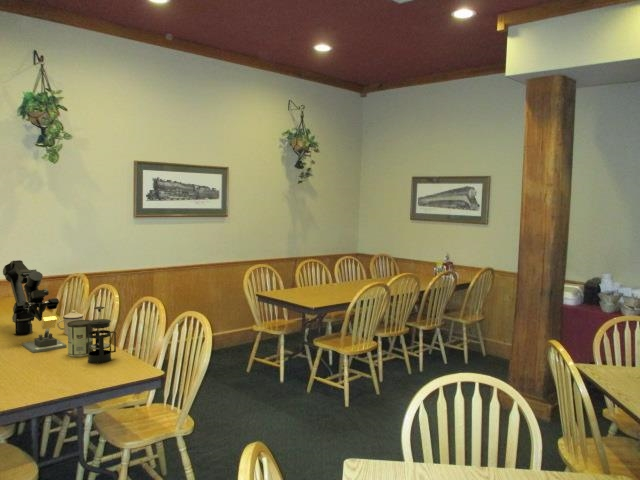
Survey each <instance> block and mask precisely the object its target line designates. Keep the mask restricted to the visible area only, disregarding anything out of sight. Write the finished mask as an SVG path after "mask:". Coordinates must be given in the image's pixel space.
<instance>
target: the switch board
mask: <svg viewBox="0 0 640 480" xmlns="http://www.w3.org/2000/svg"><path fill="white" fill-rule="evenodd" d="M21 346H22V347H23V348H25V349H27V350H28V351H29V352H31V353H33V354H35V353H43V352H47V351H52V350H59V349H60V350H61V349H66V348H67V344H66V343H64V342H62V341H60V340H58V339H57V338H56V337H54V336H53V333H50V332H49V334H48V337H47V338H45V337H44V336H43V335H42V334H38V337H34V341H25V342H21Z"/></svg>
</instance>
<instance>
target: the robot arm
mask: <svg viewBox="0 0 640 480" xmlns="http://www.w3.org/2000/svg"><path fill="white" fill-rule="evenodd" d="M2 274H3V276H4V277H5V280H6V281H7V282H9V283H10V287H11V290H12V294H13V297H14V301H15V303H14V305H13V307H12V312H13V313H12V323H14V324H15V332H14V333H13V335H15V336H16V335H17V336H19V335H24V336H25V335H26V336H27V335H28V336H29V334H31V333H33V332H34V331H33V323H32V322H33V321H34V320H35V318H36V320H38V321H39V322H41V321H43V314H44V312H45V311H46V309H47V310H50V311H51V310H55V309H57V308H58V306H59V304H60V300H59V298H57V297H55V298H54V297H53V298H49V299H47V301H44V299H45V297H47V296H48V295H50V294H49V290H48V288H47V287H45V288H43V289H39V287H40V285H41V284H42V283H41V282H42V279H43V277H44V276H43V273H41V271H37V269H29V268H28V267H27V266H26V265H25V264H24V262H23V260H21V259H20V260H12V261H11V260H10V262H9V263H8V264H6V265H4V266H3V269H2ZM23 284H24V285H23Z"/></svg>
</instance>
